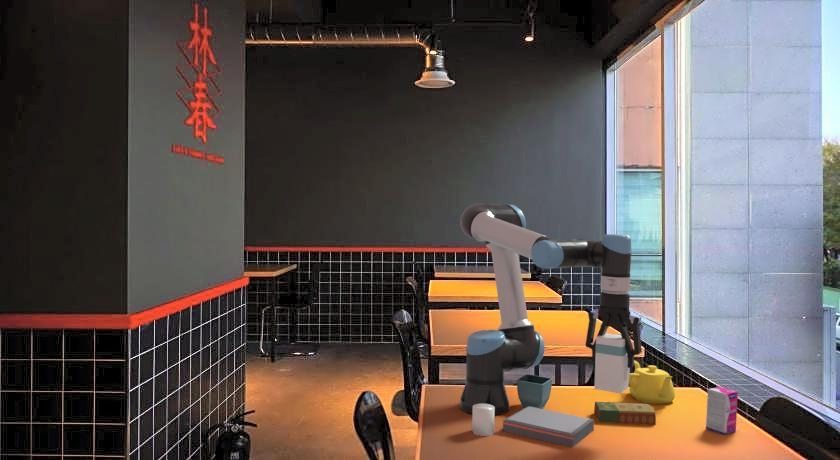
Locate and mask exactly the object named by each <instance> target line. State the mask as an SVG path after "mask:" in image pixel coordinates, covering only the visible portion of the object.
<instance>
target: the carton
mask: <svg viewBox="0 0 840 460" xmlns="http://www.w3.org/2000/svg"><path fill="white" fill-rule="evenodd" d="M593 408H594V409H593V413H594V416H595V418H596V419H597V420H598V423H607V424H608V423H609V424H611V423H612V424H625V425H626V424H628V425H647V426H649V425H651V426H656V423H657V422H656V420H657V418H656V417H657V415H656V414H657V413H656V410H654V408H653V407H652V406H651V404H649V403H640V402H639V403H636V402H634V403H633V402H632V403H631V402H615V401H614V402H611V401H606V402H603V401H595V402H594V407H593Z"/></svg>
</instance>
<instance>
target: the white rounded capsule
mask: <svg viewBox="0 0 840 460" xmlns="http://www.w3.org/2000/svg"><path fill="white" fill-rule="evenodd" d="M495 416H496V415H495V407H494V406H493V405H490V404H475V405H473V414H472V416H471V417H472V418H471V419H472V420H471V421H472V422H471V424H472V426H471V428H472V430H471V431H472V432H473V433H474V434H473V433H472V434H473V435H475V434H476V436H479V435H480V436H479V437H490V436H493V435H494V434H495Z"/></svg>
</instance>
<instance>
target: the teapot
mask: <svg viewBox="0 0 840 460" xmlns="http://www.w3.org/2000/svg"><path fill="white" fill-rule="evenodd" d="M672 378H673V376H672V375H671V376H670V374H669V373H668V372H667V371H665V370H663V369H659V368H658V367H657V366H656V365H650V364H649V365H647V367H643V368H642V367H641V365H640V363H639V362H638V361H637V360H635V359H634V372H632V373H631V372H630V378H629V385H628V386H629V388H628V389H629V392H630V394H631V396H632V397H633V398H634V399H635V400H637V401H640V402H642V403H644V404H649V405H663V404H664V403H665V404H671V403H672V402H673V401H674V399H675V396H676V395H675V388H674V387H675V386H674V384H673V381H672Z"/></svg>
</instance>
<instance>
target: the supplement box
mask: <svg viewBox="0 0 840 460" xmlns="http://www.w3.org/2000/svg"><path fill="white" fill-rule="evenodd" d="M738 394H739V392H738V391H736V390H733V389H728V388H725V387H721V386H718V387H713V388H712V387H711V388H707V401H706V402H707V403H706V404H707V405H706V418H705V419H706V421H705V429H706V430H708V431H711V432H715V433H718V434H721V435H727V434H731V433H735V432H736V431H737V414H738V398H739V396H738Z"/></svg>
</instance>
